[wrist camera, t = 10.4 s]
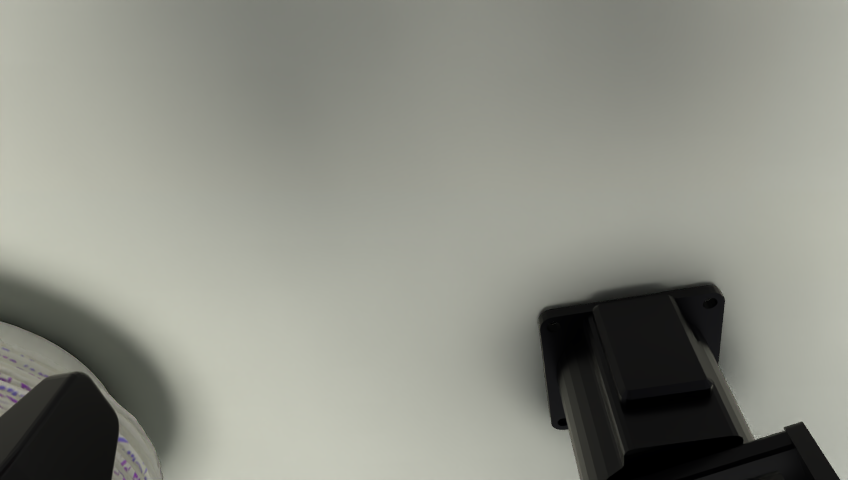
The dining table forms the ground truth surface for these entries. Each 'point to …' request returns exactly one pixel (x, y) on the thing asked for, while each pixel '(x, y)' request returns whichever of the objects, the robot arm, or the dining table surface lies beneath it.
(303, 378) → the dining table surface
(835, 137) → the dining table surface
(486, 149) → the dining table surface
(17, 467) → the robot arm
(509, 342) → the dining table surface
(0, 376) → the paper bowls
